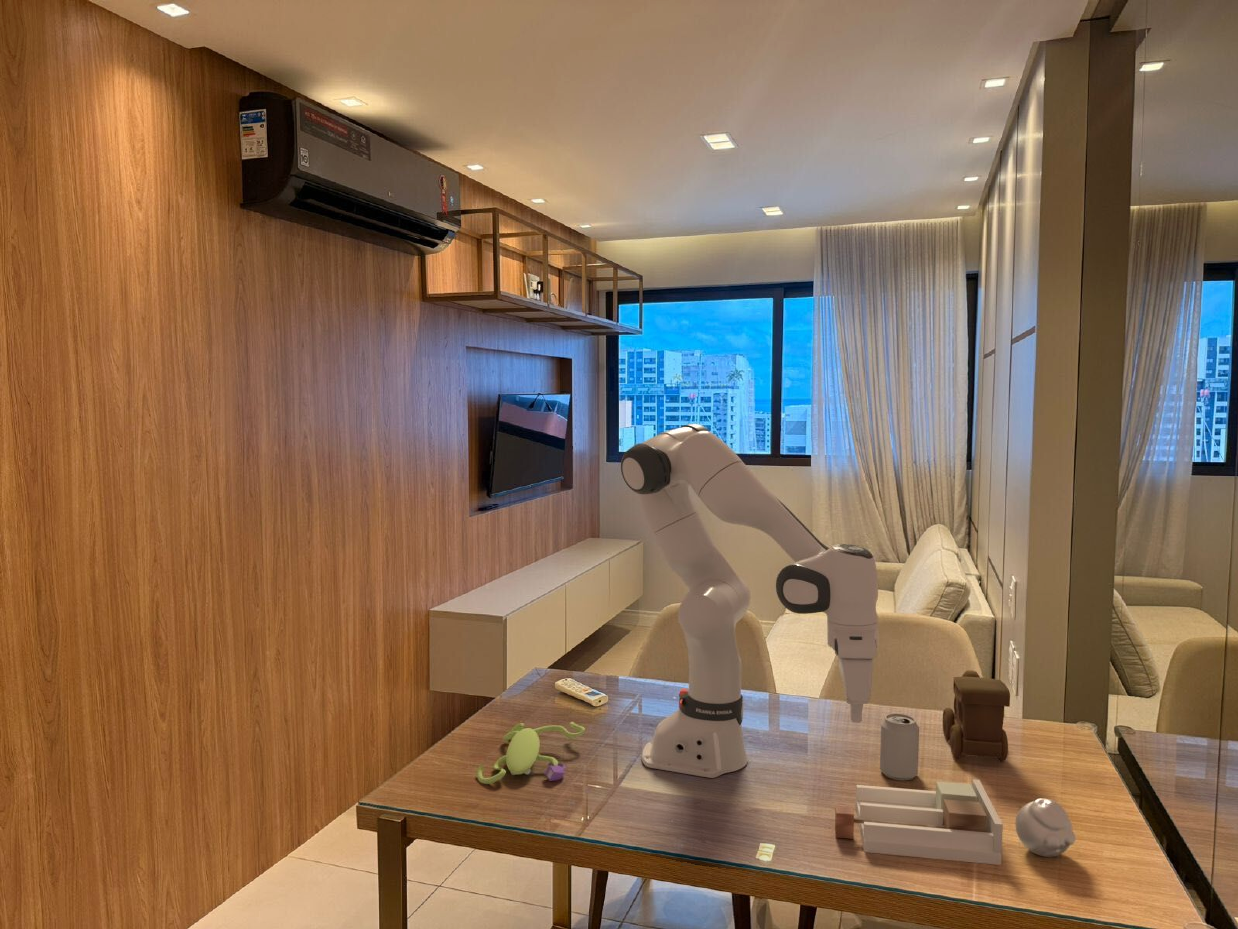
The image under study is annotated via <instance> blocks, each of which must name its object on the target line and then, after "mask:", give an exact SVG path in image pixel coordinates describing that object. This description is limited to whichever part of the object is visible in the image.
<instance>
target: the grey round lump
mask: <svg viewBox="0 0 1238 929" xmlns="http://www.w3.org/2000/svg"><path fill="white" fill-rule="evenodd" d="M1014 824H1015V832H1016V834H1017V837H1018V839H1019V841H1020V842H1021V844H1023V846H1024V847H1025V848H1027V849H1028V850H1029V851H1030V852H1032V853H1033V854H1035V855H1038V856H1039V857H1040V856H1041V857H1045V858H1047V857H1048V858H1053V857H1057V856H1060V855H1062V854H1063V853H1065V852H1066V851H1067V850H1068V849H1069V848H1070V846H1072V845H1074V844H1075V842H1076V834H1075V832H1074V829H1073V825H1072V822H1071V820H1070V818H1069V814H1067V812H1066V811H1065V809H1064V808H1063V806H1062V805H1061V804H1059V802H1057V801H1055V800H1053V799H1050V798H1044V797H1043V798H1037V799H1036V800H1033V801H1030V802H1028V803H1025V804H1024V805H1023V806H1022V807H1020V809H1019V810H1018V812H1017V814H1016V817H1015V823H1014Z"/></svg>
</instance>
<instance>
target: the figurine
mask: <svg viewBox="0 0 1238 929" xmlns="http://www.w3.org/2000/svg"><path fill="white" fill-rule="evenodd" d="M569 727H571V728H572V729H574V730H576V731H579V732H569V731H568V730H567V729H566V728H565V727H564V726H563V725H553V724H551V725H545V726H540V727H537V728H530V727H528V728H527V727H526V728H525V724H524V723H523V722H522V723H521V722H520V723H517V724H516V725H514V726H512V727H511V729H510V730H509V731H508V733H506V734H504V735H503V738H502V740H503V741H504V742H508V741H510V742H509V744H508V747H507V750H506V753H505V754H506V755H502V756H501V757H499V759H497V760H496V761H495V763H494V764H493V769H495V770H497V771H499V772H498V773H497V774H495V775H493V776H491V777H483V776H484V775H483V771H484V768H485V766H484V765H483V764H480V765H479V766H478V767H477V771H476V777H477V781H479V783H481V784H484V785H491V784H494V783H496V782H498V781H500V780H502V779H503V778H504V777H505V775H506V773H507V771H506V770H505V769H504V768H502V767H501V766H502V764H504V762H505V764H506V766H507V769H508V770H509V772H510V774H511V775H513V776H515V775H523V774H525V775H527V776H529V775H530V774H531V771H532V770H531V768H532V767H533V765H534V764H535V762H536V760H537V761H540V762H549V763H548V766H547V769H546V770H545V772H543V774H544V775H545V777H546V778H547V779H548V781H549V782H552V781H553V782H555V781H559V780H562V778H563V777H564V775H565V771H566V769H567V766H566V765H564V764H563V763H562V762H559V761H558V760H557V759H556V758H555V757H552V756H547V755H541V754H540V746H541V743H540V736H539V735H538V734H540V733H541V734H542V733H546V732H560V733H562V734H563V735H564V736H565V737H566V738H568V739H577V738H579V737H580V736H582V735H583V734H584V733H585V731H586V728H585V727H584V726H583V725H579V724H577V723H575V722H574V721H570V722H569Z"/></svg>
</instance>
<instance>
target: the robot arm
mask: <svg viewBox="0 0 1238 929" xmlns="http://www.w3.org/2000/svg"><path fill="white" fill-rule="evenodd" d="M620 460H621V461H620V470H621V471H620V472H621V476H622V478H623V480H624V482H625V484H626V485H627V487H628V488H629V489H631V491H632V492H634V493H636V494H638V499H639V504H640V506H641V510H642V513H643V516H644V519H645V521H646V524H647V526H648V527H647V528H648V529H649V531H650V533H651V534H652V537H653V539H654V541H655V544H656V545H657V547H658V549H659V552H660V553H661V556H662V557H663V559H664V563H665V564H666V566H667V567H668V568H669V570H671V571H672V572H674V573H675V574H676V575H677V576H678V577H679V578H680V579H681V581H682V583H683V584H684V585H685V586H686V587H687V589H688V590H689V591H688V593H687V592H686V595H685V596H684V597H683V599H682V601H681V603H680V605H679V607H678V612H677V619H678V624H679V626H680V628H681V630H682V631H683V633H684V637H685V638H684V639H685V643H686V648H687V649H686V650H687V654H688V689H687V688H685V687H682V688H681V689H680V690H679V693H678V698H679V699H678V708H679V709H677V710H676V711H675V712H673V713H671V714H670V715H669V716H667V717H665V718H664V719H662V720H661V721H660V722H659V724H658V725H657V726H656V728H655V730H654V734H653V736H652V737H653V738H652V740H650V741H648V742H647V743H646V744H645V745H644V747H643V749H642V754H641V761H642V763H643V764H644V766H645V767H646V768H651V769H657V770H662V771H667V772H673V773H680V774H686V775H692V776H698V777H704V778H709V779H714V778H717V777H720V776H721V775H723V774H727V773H732V772H736V771H739V770H741V769H743V768H744V767H745V766H747V764H748V761H749V760H748V756H747V753H746V747H745V742H744V736H743V726H742V723H743V720H744V698H743V694H742V659H741V657H740V656H741V655H739V651H738V646H737V640H736V626H737V623H738V622H739V621H740V620H742V618H744V616H745V615H746V613H747V612H748V610H749V606H750V601H751V591H750V589H749V586H748V584H747V583H746V582H745V580H744V579H742V578H741V577H740V576H739V575H737V573H736V572H735V570H734V569H733V567H732V566H731V565H730V564H729V562H728V561H727V560H726V558H725V556H724V555H723V554H722V553H721V551H720V549H719V548H718V547H717V545H716V544H715V541H714V540H713V537H711V534H710V533H709V530H708V528H707V526H706V525H705V522H704V520H703V518H702V516H701V515H700V513H699V511H698V509H697V507H696V504H695V503H694V502H693V499H692V497H691V495H690V492H689V485H690V487H691V489H693V491H694V493H695V494H696V495H697V497H698V498H699V499H700V500H701V502H702V503H703V505H704V506H705V507H706V508H707V509H708V510H709V511H710V512H711V513H712V514H713V515H715V516H716V517H717V518H718V519H719V520H721V521H722V522H724V523H728V524H732V525H737V526H738V525H739V526H744V527H748V528H753V529H756V530H758V531H761V532H762V533H765V534H767V535H768V536H769V537H771V538H772V539H773V541H774V542H775V543H776V544H777V545H779V547H780V548H781V549H782V550H783V551H784V552H785V553H786V554H787V555H788V556H789V557H790V559H792V560H793V562H792V563H790V564H788V565H786V566H785V567H783V568H781V570H780V571H779V573H778V574H777V577H776V581H775V591H776V595H777V597H778V600H779V601H780V603H781V604H782V606H783V607H784V608H785V609H786V610H788V611H789V612H791V613H794V614H799V615H800V614H801V615H802V614H803V615H807V614H817V613H818V614H819V613H824V614H825V616H826V620H827V624H826V625H827V626H826V627H827V629H826V631H827V634H826V636H827V638H826V639H827V641H826V642H827V645H828V647H830V648H831V649H833V651H834V654H835V655H836V656H837V657H838V670H839V674H840V677H841V681H842V684H843V689H844V692H845V701H846V702H845V703H847V704H848V705H850V721H851V722H852V723H862V721H863V709H864V705H867V704H869V703H870V700H871V696H872V686H873V685H872V684H873V671H874V670H873V669H874V660H875V659H877V657H878V656H877V654H878V651H877V649H878V647H879V616H878V613H877V607H876V606H877V602H878V597H879V586H878V584H879V583H878V570H877V564H876V560H875V557H874V555H873V554H872V553H871V551H869V550H868V549H866V548H864V547H862V546H859V545H855V544H850V543H848V544H847V543H837V544H833V545H831V546H829V547H828V546H827V545H826V544H824V543H823V542H821V541H820V540H819V538H817V537H816V536H815V535H814V534H813V533H812V532H811V530H810V529H809V528H808V527H807V526H805V524H804V523H803V522H802V521H801V520H800V519H799V518H798V517H797V516H796V515H795V514H794V513H793V512H792V510H790V509H789V508H788V507H787V506H786V505H785V504H784V503H783V502H781V500H780V499H778V497H776V496H775V495H774V494H773V493H772V492H771V491H770V490H769V489H768V488H767V487H766V486H765V485H764V484H763V483H762V482H761V481H760V480H759V479H758V477H757V476H756V475H755V474H754V473H753V472H752V471H751V470H750V468H749V467H748V465H746V463H744V462H743V460H742V459H741V458H740V456H738V455H737V454H736V452H735V451H734V450H733V449H732V448H731V447H730V446H729V445H728V444H726V442H724V441H723V440H722V439H721V438H720V437H718V436H717V435H716V434H714V433H713V432H711V431H710V430H709V429H708V428H707V427H705V426H703V425H701V424H698V423H697V424H695V423H693V424H685V425H681V426H680V427H677V428H673V429H670V430H666V431H663V432H660V433H658V434H657V435H656V436H653V437H650V438H649V439H646V440H645V441H643V442H640V443H636V444H635V445H633V446H631V447H630V448H629V449H627V450H626V451H625V452H624V453H623V455H622V457H621V459H620Z"/></svg>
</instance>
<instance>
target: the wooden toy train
mask: <svg viewBox="0 0 1238 929" xmlns="http://www.w3.org/2000/svg"><path fill="white" fill-rule="evenodd" d="M952 684H953V693H954V699H953V709H952V708H951V707H945V708H944V709H943V711H942V732H943V737H945V739H946V740H949V742H950V743H949V745H950V752H951V755H952V757H954V758H956V759H960V758H962V756H970V757H972V756H973V757H981V758H993V759H996V760H997V761H998V762H1000V763H1002V762H1005V761H1007V758H1008V755H1009V754H1008V753H1009V742H1008V740H1009V739H1008V735H1007V731H1005V729H1004V728H1003V727H1004V726H1003V725H1004V719H1005V707H1007V708H1008V707H1009V708H1010V707H1011V706H1010V705H1011V693H1010V689H1009V688H1008V687H1007V685H1006V683H1004V682H1003V681H1002V680H1000V679H995V678H989V677H980V675H979V673H978V672H977V671H975V670H969V669H968V670H965V671H964V673H963V674H962V675H961V676H953V683H952Z"/></svg>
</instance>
